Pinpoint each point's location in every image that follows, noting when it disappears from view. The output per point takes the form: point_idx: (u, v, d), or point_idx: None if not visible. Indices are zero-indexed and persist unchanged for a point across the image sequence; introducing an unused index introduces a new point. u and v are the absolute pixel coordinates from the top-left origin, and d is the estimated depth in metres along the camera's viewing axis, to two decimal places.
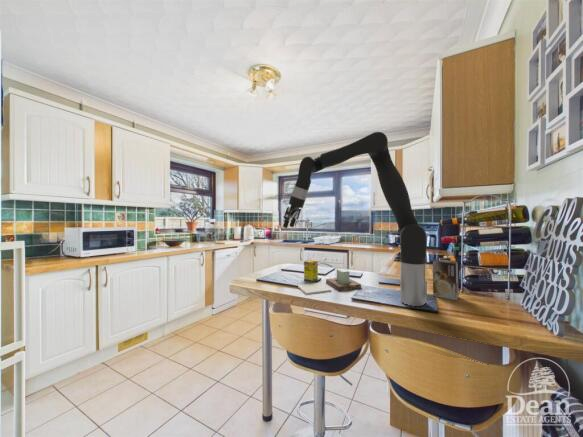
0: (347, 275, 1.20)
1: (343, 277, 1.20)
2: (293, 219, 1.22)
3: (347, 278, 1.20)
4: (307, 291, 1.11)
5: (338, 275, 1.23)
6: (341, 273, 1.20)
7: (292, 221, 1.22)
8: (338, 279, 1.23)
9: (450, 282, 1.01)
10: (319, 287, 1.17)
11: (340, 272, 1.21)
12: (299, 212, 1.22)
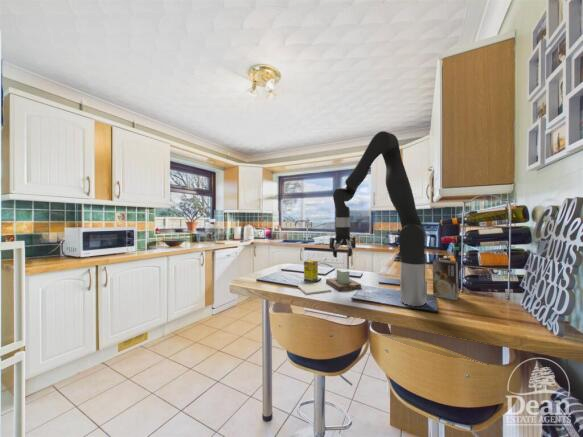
0: (347, 275, 1.20)
1: (343, 277, 1.20)
2: (349, 248, 1.24)
3: (347, 278, 1.20)
4: (307, 291, 1.11)
5: (338, 275, 1.23)
6: (341, 273, 1.20)
7: (348, 250, 1.24)
8: (338, 279, 1.23)
9: (450, 282, 1.01)
10: (319, 287, 1.17)
11: (340, 272, 1.21)
12: (353, 240, 1.23)
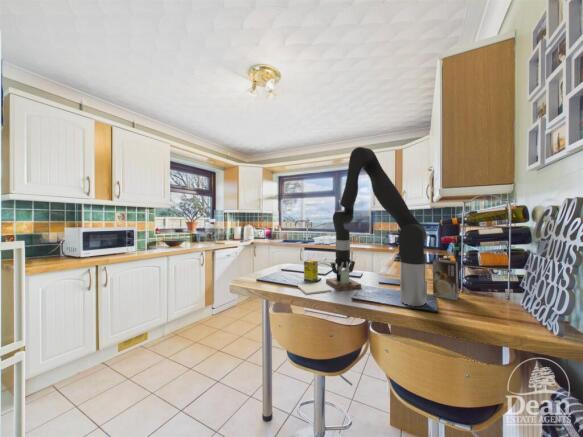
0: (346, 275, 1.20)
1: (343, 277, 1.20)
2: None
3: (347, 278, 1.20)
4: (307, 291, 1.11)
5: None
6: (341, 273, 1.20)
7: None
8: None
9: (450, 282, 1.01)
10: (319, 287, 1.17)
11: None
12: (352, 264, 1.23)
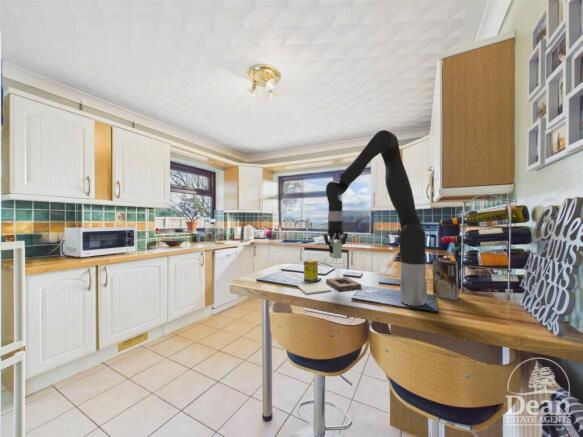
0: (339, 246, 1.19)
1: (335, 248, 1.18)
2: None
3: (339, 249, 1.19)
4: (307, 291, 1.11)
5: None
6: (333, 244, 1.19)
7: None
8: None
9: (450, 282, 1.01)
10: (319, 287, 1.17)
11: None
12: (345, 236, 1.22)
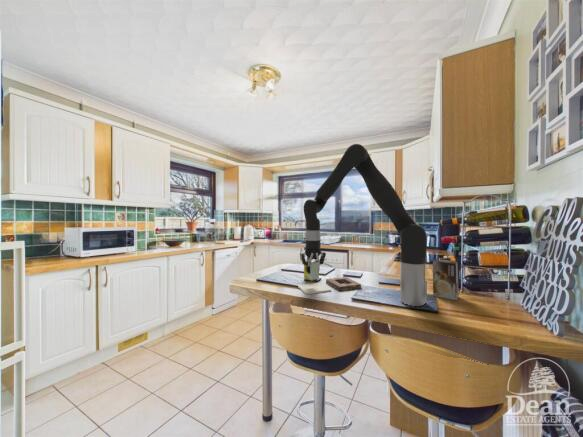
0: (316, 266, 1.15)
1: (312, 269, 1.14)
2: None
3: (317, 270, 1.15)
4: (307, 291, 1.11)
5: None
6: (310, 264, 1.15)
7: None
8: None
9: (450, 282, 1.01)
10: (319, 287, 1.17)
11: None
12: (323, 256, 1.18)
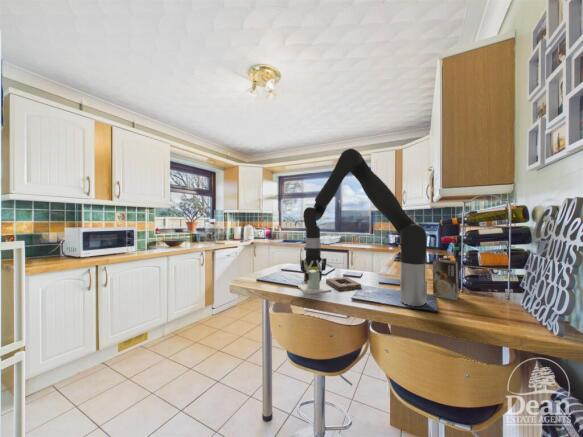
0: (317, 276, 1.15)
1: (313, 278, 1.14)
2: (318, 270, 1.19)
3: (317, 280, 1.15)
4: (307, 291, 1.11)
5: None
6: (311, 274, 1.15)
7: None
8: (308, 281, 1.18)
9: (450, 282, 1.01)
10: None
11: (310, 273, 1.16)
12: (324, 262, 1.18)
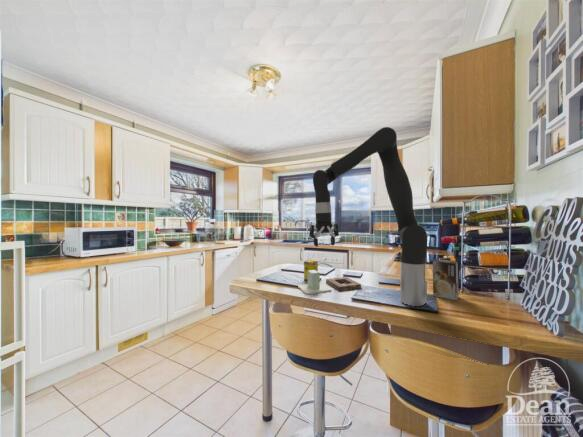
0: (317, 276, 1.15)
1: (313, 278, 1.14)
2: (331, 236, 1.13)
3: (317, 280, 1.15)
4: (307, 291, 1.11)
5: (308, 276, 1.18)
6: (311, 274, 1.15)
7: (331, 239, 1.13)
8: (308, 281, 1.18)
9: (450, 282, 1.01)
10: None
11: (310, 273, 1.16)
12: (335, 227, 1.12)
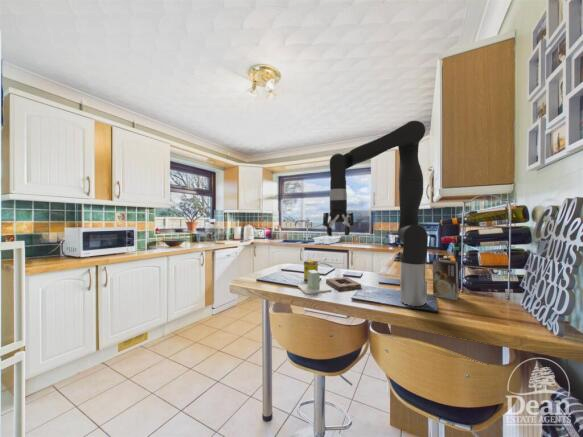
0: (317, 276, 1.15)
1: (313, 278, 1.14)
2: (346, 226, 1.06)
3: (317, 280, 1.15)
4: (307, 291, 1.11)
5: (308, 276, 1.18)
6: (311, 274, 1.15)
7: (345, 229, 1.06)
8: (308, 281, 1.18)
9: (450, 282, 1.01)
10: None
11: (310, 273, 1.16)
12: (350, 216, 1.05)
